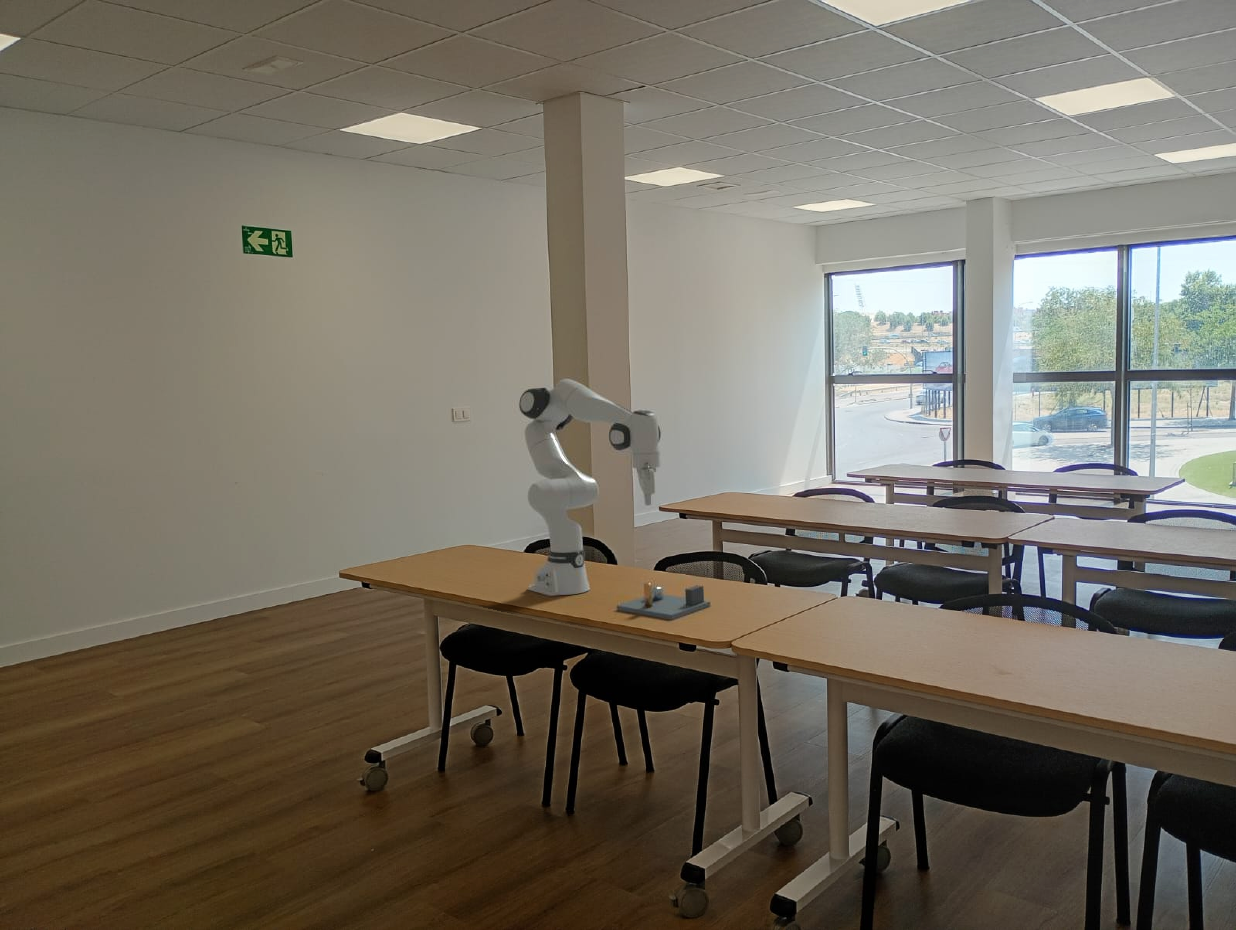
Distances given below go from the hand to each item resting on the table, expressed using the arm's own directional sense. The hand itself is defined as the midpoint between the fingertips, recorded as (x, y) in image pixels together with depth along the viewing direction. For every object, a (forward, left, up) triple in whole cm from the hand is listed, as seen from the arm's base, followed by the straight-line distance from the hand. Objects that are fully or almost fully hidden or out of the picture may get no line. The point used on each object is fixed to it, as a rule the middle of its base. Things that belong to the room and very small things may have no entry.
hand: (647, 504), depth 304 cm
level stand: (+10, -6, -31) cm, 33 cm away
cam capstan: (+6, -7, -29) cm, 31 cm away
